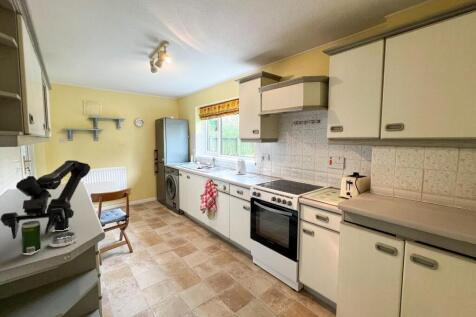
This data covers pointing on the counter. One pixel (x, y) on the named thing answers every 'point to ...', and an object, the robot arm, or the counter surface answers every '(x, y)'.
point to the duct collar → (64, 240)
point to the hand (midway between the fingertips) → (30, 236)
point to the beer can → (31, 236)
